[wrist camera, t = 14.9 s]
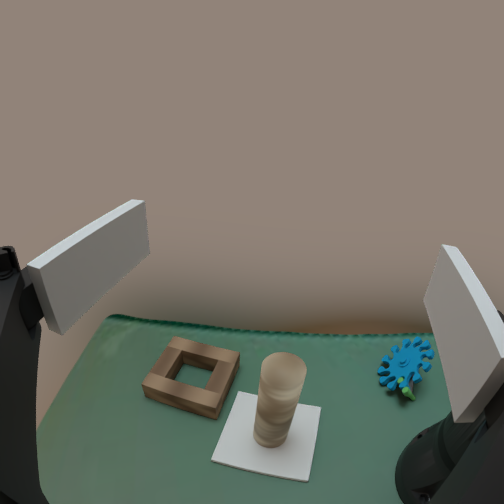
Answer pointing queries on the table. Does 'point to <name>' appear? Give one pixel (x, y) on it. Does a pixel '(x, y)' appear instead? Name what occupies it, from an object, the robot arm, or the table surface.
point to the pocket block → (186, 396)
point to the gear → (406, 366)
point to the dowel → (277, 397)
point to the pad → (261, 458)
